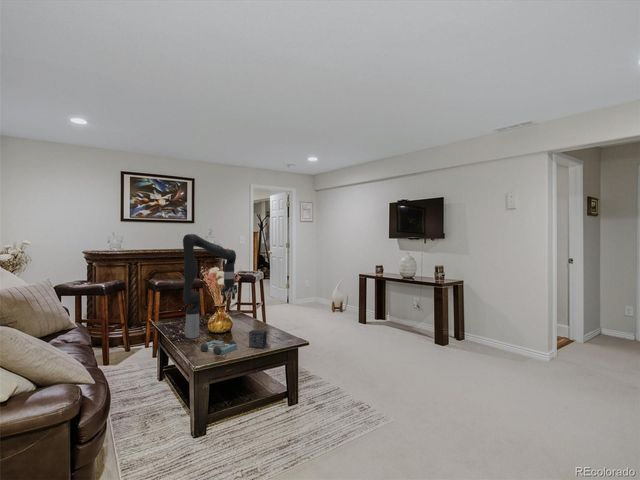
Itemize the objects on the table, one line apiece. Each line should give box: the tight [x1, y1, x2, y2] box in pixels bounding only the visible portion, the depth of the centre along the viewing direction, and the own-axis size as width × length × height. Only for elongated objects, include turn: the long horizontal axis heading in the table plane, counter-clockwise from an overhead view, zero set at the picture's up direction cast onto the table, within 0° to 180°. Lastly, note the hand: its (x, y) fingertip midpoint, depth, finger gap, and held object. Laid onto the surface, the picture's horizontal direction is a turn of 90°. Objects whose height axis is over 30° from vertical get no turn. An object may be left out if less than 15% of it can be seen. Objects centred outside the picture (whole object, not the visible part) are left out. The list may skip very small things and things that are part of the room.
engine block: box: [212, 340, 226, 349], centre depth 231 cm, size 6×4×5 cm
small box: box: [248, 329, 268, 350], centre depth 237 cm, size 11×6×10 cm, turn 77°
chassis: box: [199, 337, 238, 356], centre depth 231 cm, size 20×16×5 cm
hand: (229, 300), depth 252 cm, fingers open, 8 cm apart
